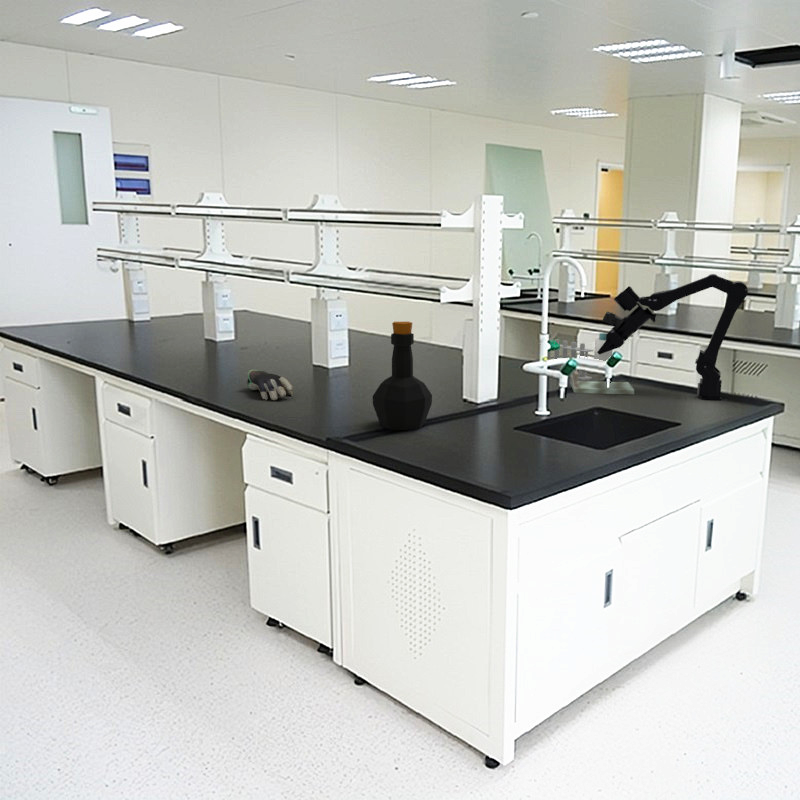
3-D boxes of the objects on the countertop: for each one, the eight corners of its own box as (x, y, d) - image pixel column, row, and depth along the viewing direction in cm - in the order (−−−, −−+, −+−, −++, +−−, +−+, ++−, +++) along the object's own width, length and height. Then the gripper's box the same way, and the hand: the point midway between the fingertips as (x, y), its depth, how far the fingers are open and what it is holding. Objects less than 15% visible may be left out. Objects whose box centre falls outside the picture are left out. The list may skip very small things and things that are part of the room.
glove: (240, 398, 287) (266, 401, 265) (240, 369, 286) (266, 370, 265) (274, 397, 293) (302, 400, 271) (273, 369, 292) (301, 370, 271)
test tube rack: (592, 379, 307) (594, 344, 304) (583, 380, 304) (585, 345, 302) (545, 369, 327) (546, 336, 324) (537, 370, 325) (538, 337, 322)
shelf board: (628, 386, 293) (629, 368, 291) (634, 394, 279) (635, 375, 278) (571, 385, 295) (571, 367, 294) (574, 392, 281) (575, 374, 280)
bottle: (398, 416, 248) (397, 317, 241) (441, 424, 237) (442, 321, 231) (362, 426, 236) (361, 322, 229) (407, 435, 225) (407, 327, 219)
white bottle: (614, 370, 285) (615, 333, 282) (607, 373, 280) (609, 335, 277) (597, 369, 288) (599, 332, 285) (590, 371, 283) (592, 334, 280)
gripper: (620, 301, 286) (587, 331, 292) (614, 306, 269) (579, 338, 275) (642, 324, 285) (608, 354, 291) (638, 331, 268) (602, 362, 274)
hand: (599, 352), depth 283 cm, fingers closed on white bottle, 6 cm apart
